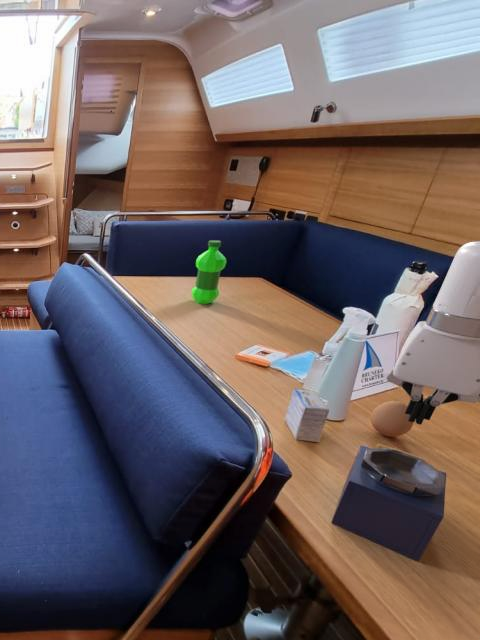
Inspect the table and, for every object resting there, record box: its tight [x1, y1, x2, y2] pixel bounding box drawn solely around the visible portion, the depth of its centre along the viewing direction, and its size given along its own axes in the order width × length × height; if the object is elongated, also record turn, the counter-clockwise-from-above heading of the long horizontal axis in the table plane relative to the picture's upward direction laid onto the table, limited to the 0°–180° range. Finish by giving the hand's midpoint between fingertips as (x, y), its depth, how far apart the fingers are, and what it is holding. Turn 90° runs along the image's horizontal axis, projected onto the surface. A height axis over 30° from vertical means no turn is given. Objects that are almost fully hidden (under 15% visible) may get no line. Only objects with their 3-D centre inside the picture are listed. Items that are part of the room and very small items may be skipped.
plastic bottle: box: [191, 239, 228, 305], centre depth 167 cm, size 10×10×25 cm
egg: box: [370, 400, 415, 438], centre depth 90 cm, size 6×6×8 cm
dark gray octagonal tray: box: [361, 447, 445, 498], centre depth 68 cm, size 9×9×2 cm
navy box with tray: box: [330, 444, 447, 562], centre depth 70 cm, size 13×11×10 cm
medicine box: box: [284, 389, 330, 443], centre depth 93 cm, size 8×4×9 cm, turn 160°
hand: (415, 419), depth 72 cm, fingers closed
